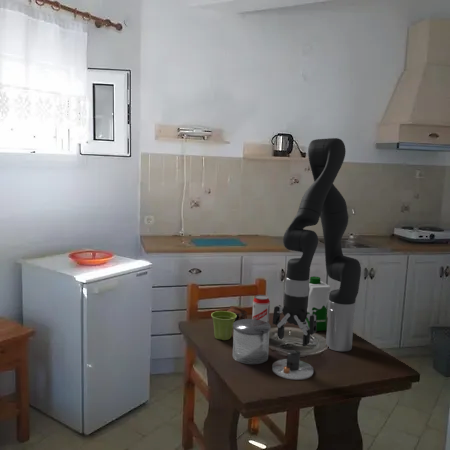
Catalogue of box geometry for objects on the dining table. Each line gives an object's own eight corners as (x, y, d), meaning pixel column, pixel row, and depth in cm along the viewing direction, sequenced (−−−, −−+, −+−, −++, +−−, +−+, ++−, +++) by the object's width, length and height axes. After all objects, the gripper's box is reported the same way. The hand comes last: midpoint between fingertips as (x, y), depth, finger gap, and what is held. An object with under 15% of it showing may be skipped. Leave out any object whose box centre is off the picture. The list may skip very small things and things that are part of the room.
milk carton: (319, 323, 200) (322, 275, 197) (329, 331, 191) (333, 281, 188) (299, 324, 197) (302, 276, 194) (309, 332, 189) (312, 282, 186)
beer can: (267, 342, 177) (269, 300, 175) (250, 340, 178) (252, 298, 176) (269, 336, 183) (271, 295, 181) (252, 334, 185) (254, 293, 182)
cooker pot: (244, 346, 173) (246, 316, 172) (275, 355, 166) (277, 324, 164) (224, 357, 163) (225, 326, 161) (256, 368, 156) (258, 335, 154)
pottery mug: (217, 323, 197) (224, 304, 199) (236, 331, 200) (243, 312, 202) (230, 325, 186) (237, 305, 188) (250, 334, 189) (257, 314, 191)
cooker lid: (284, 359, 164) (285, 341, 164) (319, 370, 157) (321, 351, 156) (264, 372, 154) (265, 353, 153) (301, 384, 147) (303, 365, 146)
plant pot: (227, 331, 187) (227, 309, 186) (240, 339, 179) (241, 317, 178) (205, 335, 182) (206, 312, 181) (218, 344, 174) (219, 320, 173)
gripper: (322, 294, 151) (318, 344, 153) (282, 285, 159) (279, 333, 161) (312, 299, 145) (307, 351, 147) (270, 289, 153) (267, 339, 155)
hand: (292, 341), depth 154 cm, fingers open, 8 cm apart
